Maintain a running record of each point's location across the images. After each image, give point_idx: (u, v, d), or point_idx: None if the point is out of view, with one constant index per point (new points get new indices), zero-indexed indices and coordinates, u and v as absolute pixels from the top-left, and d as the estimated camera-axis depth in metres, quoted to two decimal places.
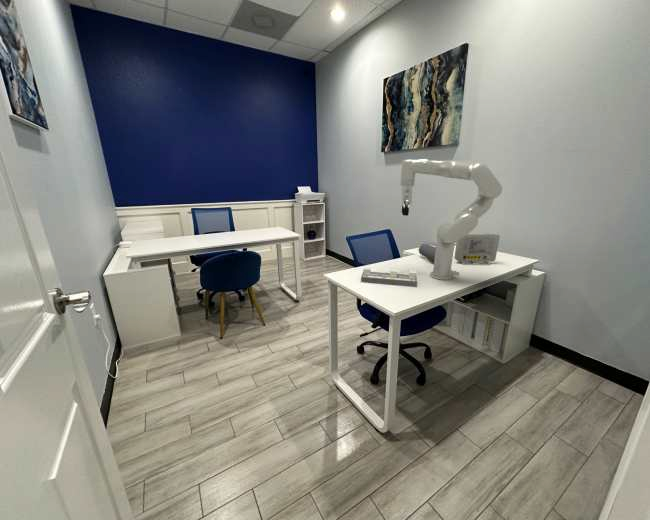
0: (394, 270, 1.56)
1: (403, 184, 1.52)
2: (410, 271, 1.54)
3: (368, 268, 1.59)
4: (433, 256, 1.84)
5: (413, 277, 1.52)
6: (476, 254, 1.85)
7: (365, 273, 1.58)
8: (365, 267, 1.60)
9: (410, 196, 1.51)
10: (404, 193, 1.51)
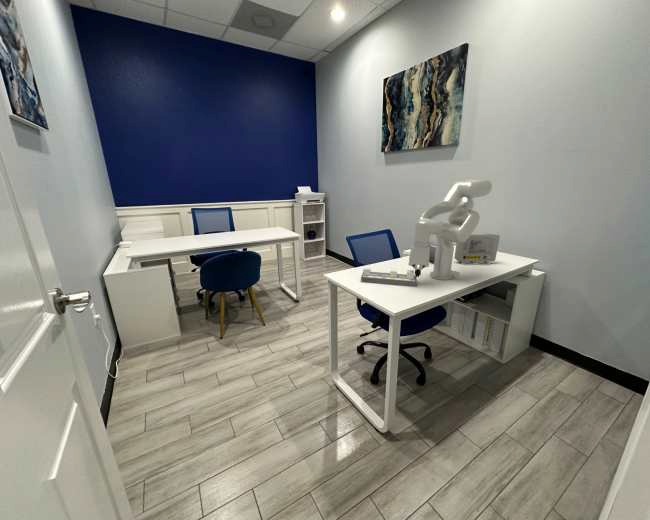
0: (394, 270, 1.56)
1: (427, 246, 1.45)
2: (408, 271, 1.54)
3: (368, 268, 1.59)
4: (433, 256, 1.84)
5: (411, 277, 1.52)
6: (476, 254, 1.85)
7: (365, 273, 1.58)
8: (365, 267, 1.60)
9: None
10: (429, 254, 1.47)
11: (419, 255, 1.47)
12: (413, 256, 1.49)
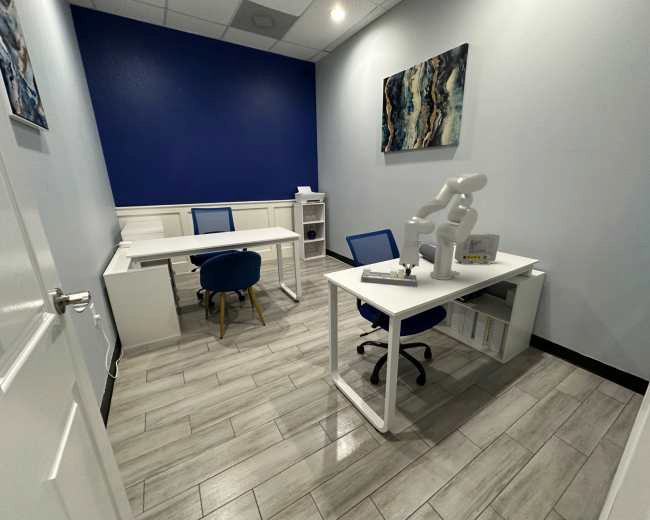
0: (394, 270, 1.56)
1: (416, 245, 1.47)
2: (398, 270, 1.55)
3: (368, 268, 1.59)
4: (433, 256, 1.84)
5: (402, 276, 1.53)
6: (476, 254, 1.85)
7: (365, 273, 1.58)
8: (365, 267, 1.60)
9: None
10: None
11: (409, 254, 1.49)
12: (403, 255, 1.50)
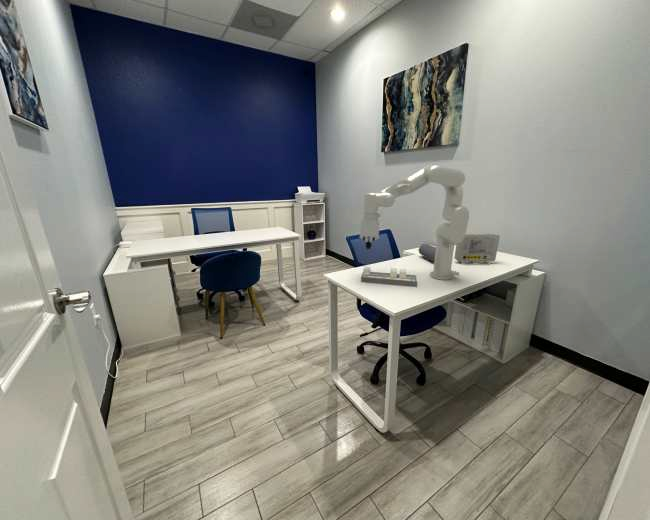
0: (394, 270, 1.56)
1: (375, 218, 1.48)
2: (400, 270, 1.55)
3: (368, 268, 1.59)
4: (433, 256, 1.84)
5: (403, 276, 1.53)
6: (476, 254, 1.85)
7: (365, 273, 1.58)
8: (365, 267, 1.60)
9: None
10: (378, 226, 1.50)
11: (368, 227, 1.50)
12: (363, 228, 1.51)
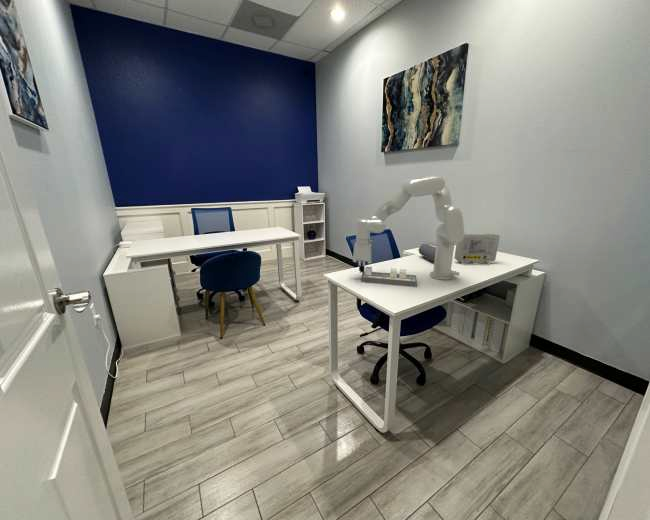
0: (394, 270, 1.56)
1: (367, 243, 1.53)
2: (400, 270, 1.55)
3: (370, 268, 1.58)
4: (433, 256, 1.84)
5: (403, 276, 1.53)
6: (476, 254, 1.85)
7: (367, 273, 1.58)
8: (367, 267, 1.60)
9: (371, 252, 1.58)
10: (370, 251, 1.55)
11: (361, 251, 1.55)
12: (356, 253, 1.56)
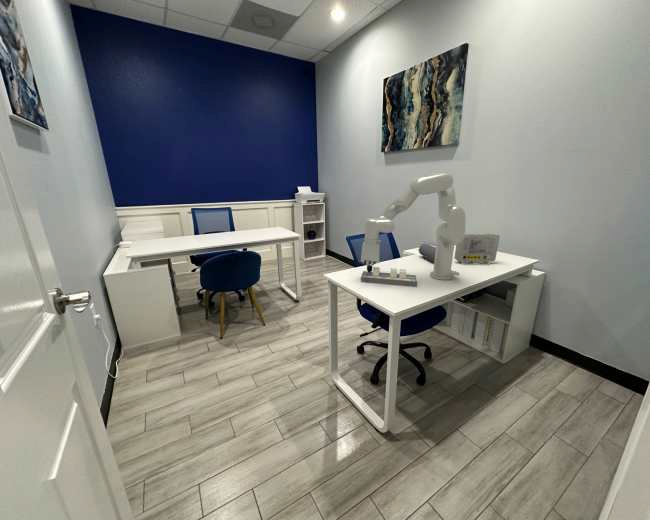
0: (394, 270, 1.56)
1: (376, 243, 1.52)
2: (400, 270, 1.55)
3: (377, 269, 1.57)
4: (433, 256, 1.84)
5: (403, 276, 1.53)
6: (476, 254, 1.85)
7: (374, 274, 1.57)
8: (374, 268, 1.59)
9: None
10: (379, 251, 1.53)
11: (369, 251, 1.54)
12: (364, 252, 1.55)
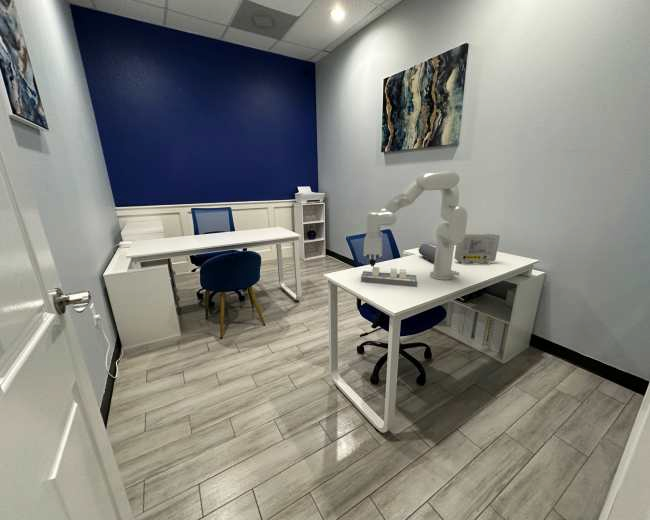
0: (394, 270, 1.56)
1: (378, 236, 1.50)
2: (400, 270, 1.55)
3: (377, 269, 1.57)
4: (433, 256, 1.84)
5: (403, 276, 1.53)
6: (476, 254, 1.85)
7: (374, 274, 1.57)
8: (374, 268, 1.59)
9: None
10: (381, 244, 1.52)
11: (371, 245, 1.53)
12: (366, 246, 1.54)
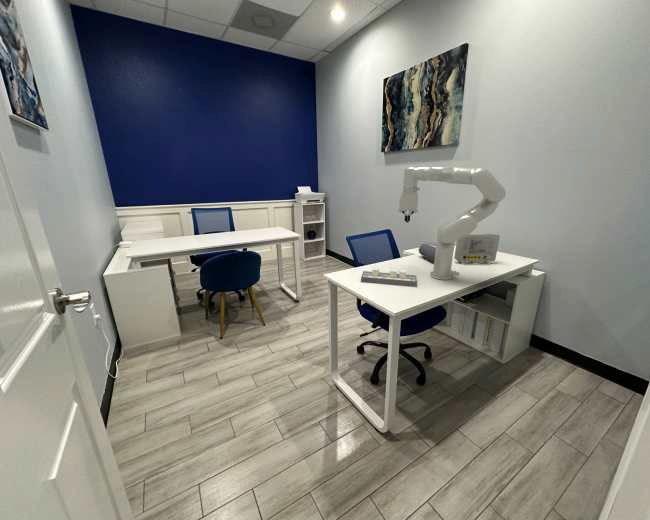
0: (394, 270, 1.56)
1: (415, 191, 1.54)
2: (400, 270, 1.55)
3: (377, 269, 1.57)
4: (433, 256, 1.84)
5: (403, 276, 1.53)
6: (476, 254, 1.85)
7: (374, 274, 1.57)
8: (374, 268, 1.59)
9: None
10: (417, 199, 1.56)
11: (408, 200, 1.56)
12: (402, 202, 1.58)
